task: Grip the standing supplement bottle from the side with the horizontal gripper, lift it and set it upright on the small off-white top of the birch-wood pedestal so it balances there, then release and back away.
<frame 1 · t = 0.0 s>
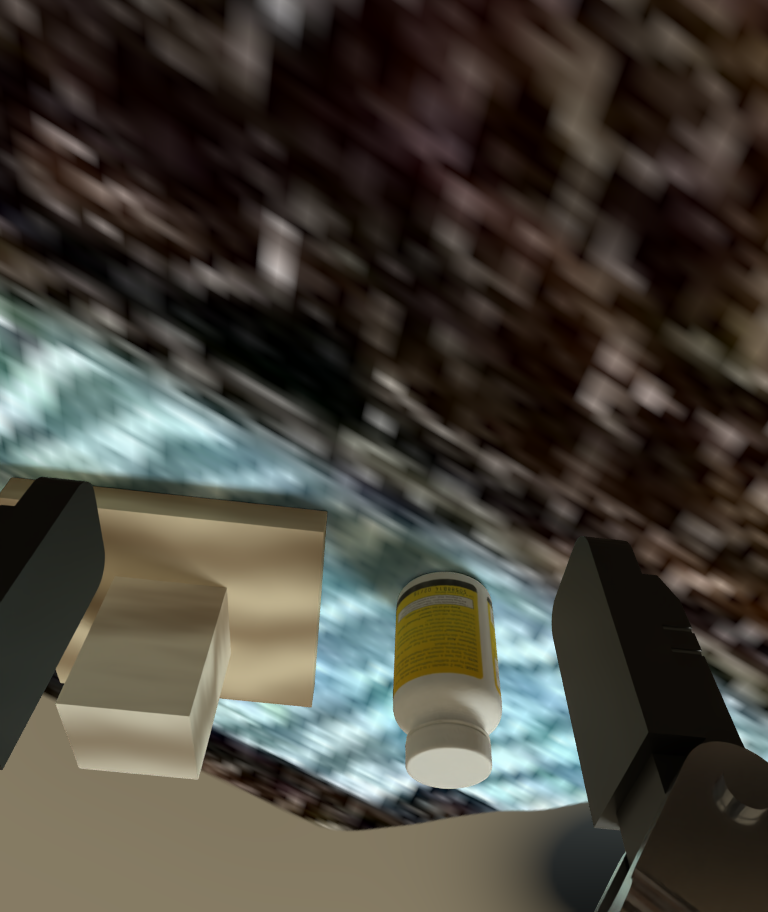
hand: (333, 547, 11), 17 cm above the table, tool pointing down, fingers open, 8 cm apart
pedestal: (183, 595, 39), on the table
supplement bottle: (443, 597, 39), on the table
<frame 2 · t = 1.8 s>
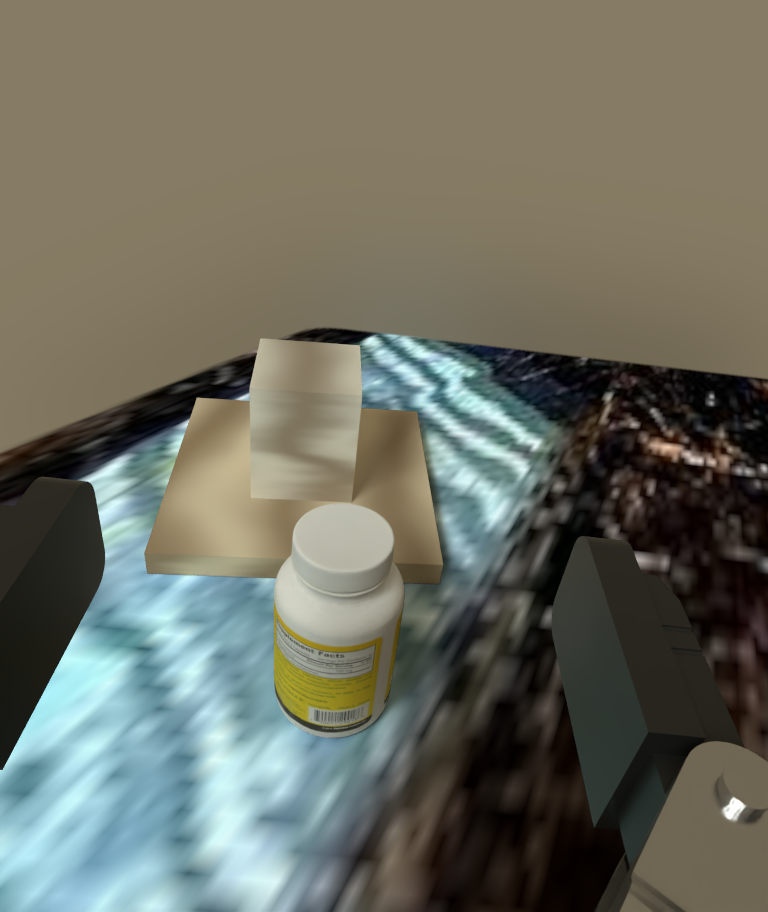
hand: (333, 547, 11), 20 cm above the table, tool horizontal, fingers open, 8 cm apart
pedestal: (303, 488, 44), on the table
supplement bottle: (330, 692, 32), on the table
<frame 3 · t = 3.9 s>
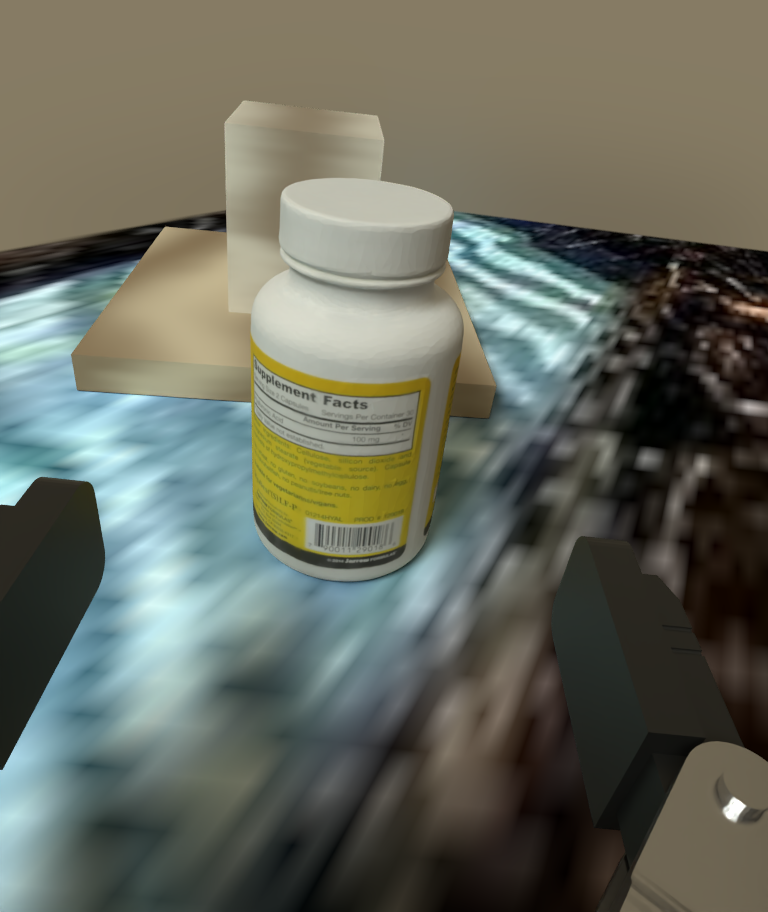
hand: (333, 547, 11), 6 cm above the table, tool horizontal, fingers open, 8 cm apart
pedestal: (299, 321, 33), on the table
supplement bottle: (339, 529, 21), on the table
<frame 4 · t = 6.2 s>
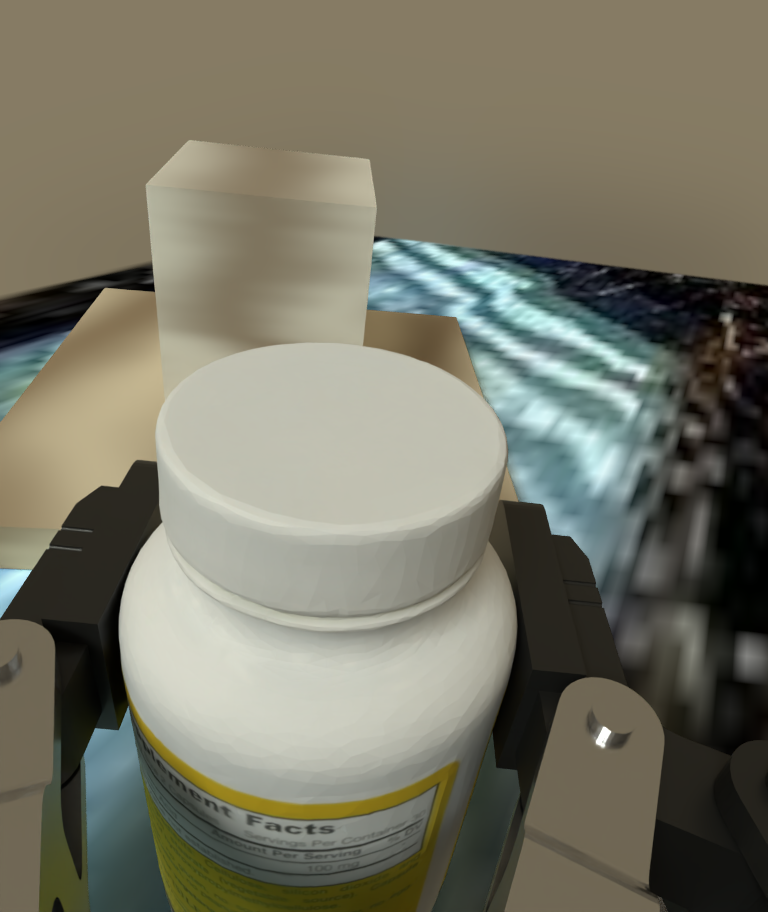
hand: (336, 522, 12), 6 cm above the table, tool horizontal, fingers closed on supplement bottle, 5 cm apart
pedestal: (269, 423, 25), on the table
supplement bottle: (303, 845, 13), on the table, touching gripper
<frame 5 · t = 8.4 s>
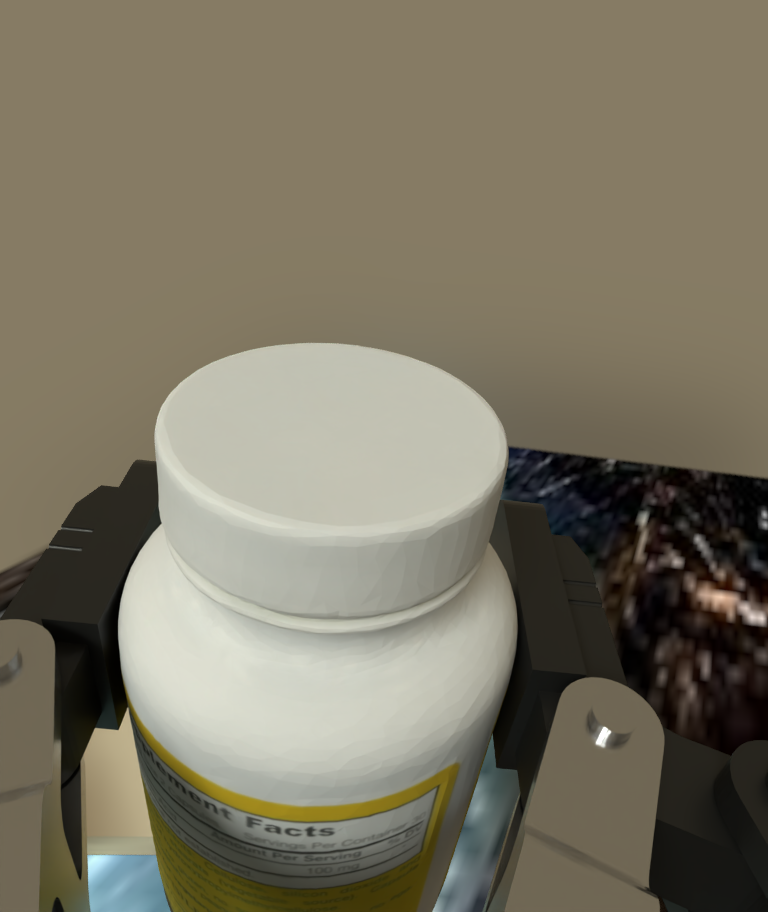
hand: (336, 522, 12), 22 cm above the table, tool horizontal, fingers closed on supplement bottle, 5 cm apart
pedestal: (264, 686, 34), on the table
supplement bottle: (303, 846, 13), point 15 cm above the table, touching gripper
when the fingers open (16 cm above the table, at t = 10.8 s): supplement bottle drops 1 cm, resting on pedestal.
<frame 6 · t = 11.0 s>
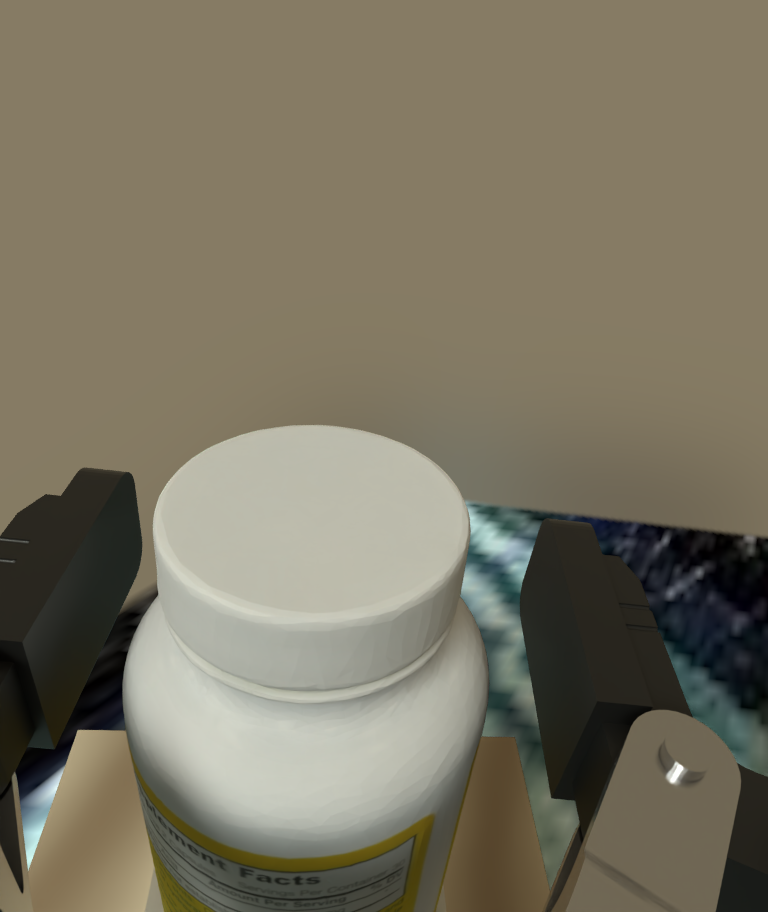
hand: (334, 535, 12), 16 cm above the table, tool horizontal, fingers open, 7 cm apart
supplement bottle: (301, 885, 14), point 9 cm above the table, touching pedestal
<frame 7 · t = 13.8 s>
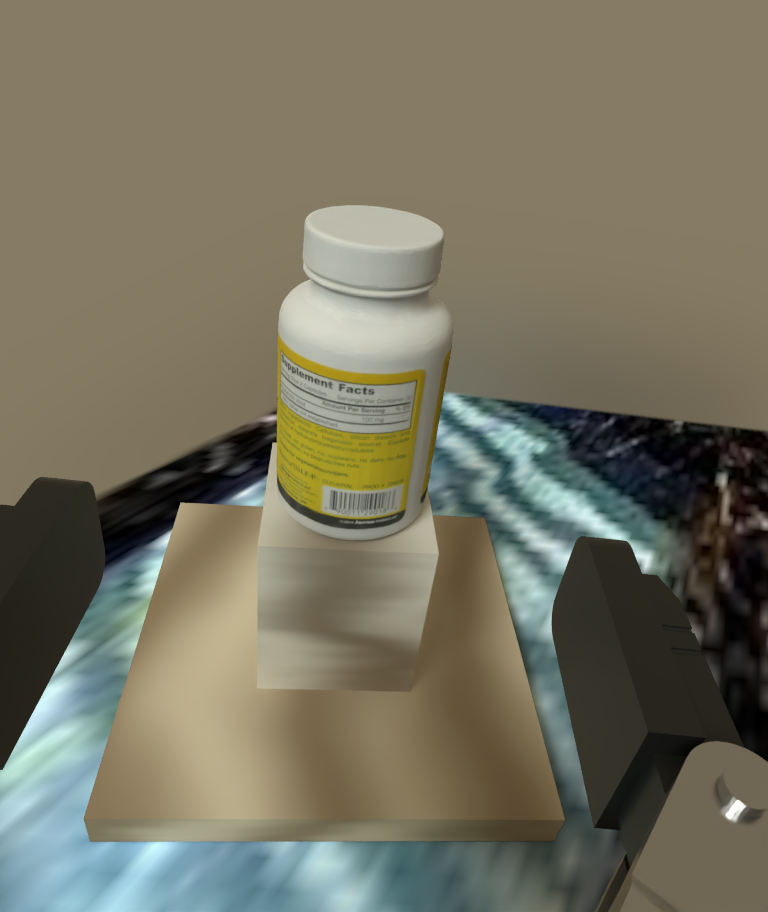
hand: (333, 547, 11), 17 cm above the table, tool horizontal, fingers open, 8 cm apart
pedestal: (332, 652, 30), on the table
supplement bottle: (349, 500, 25), point 9 cm above the table, touching pedestal
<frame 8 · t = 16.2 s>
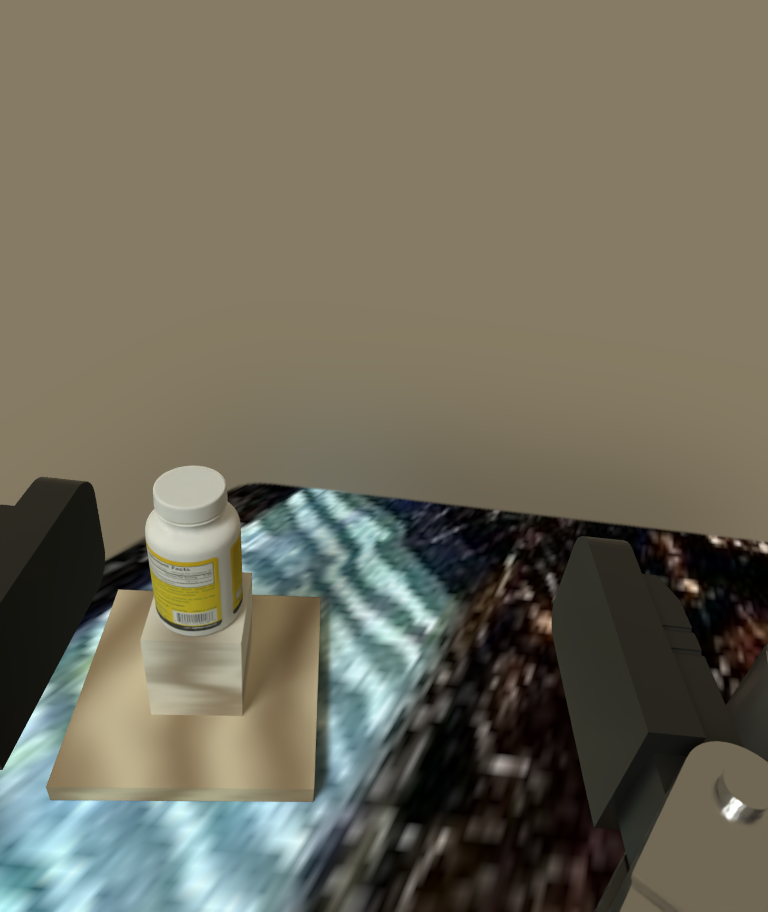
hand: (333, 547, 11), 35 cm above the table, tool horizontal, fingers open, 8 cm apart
pedestal: (205, 690, 49), on the table
supplement bottle: (199, 608, 43), point 9 cm above the table, touching pedestal
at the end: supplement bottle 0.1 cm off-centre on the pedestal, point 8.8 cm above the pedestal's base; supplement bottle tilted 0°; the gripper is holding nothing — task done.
